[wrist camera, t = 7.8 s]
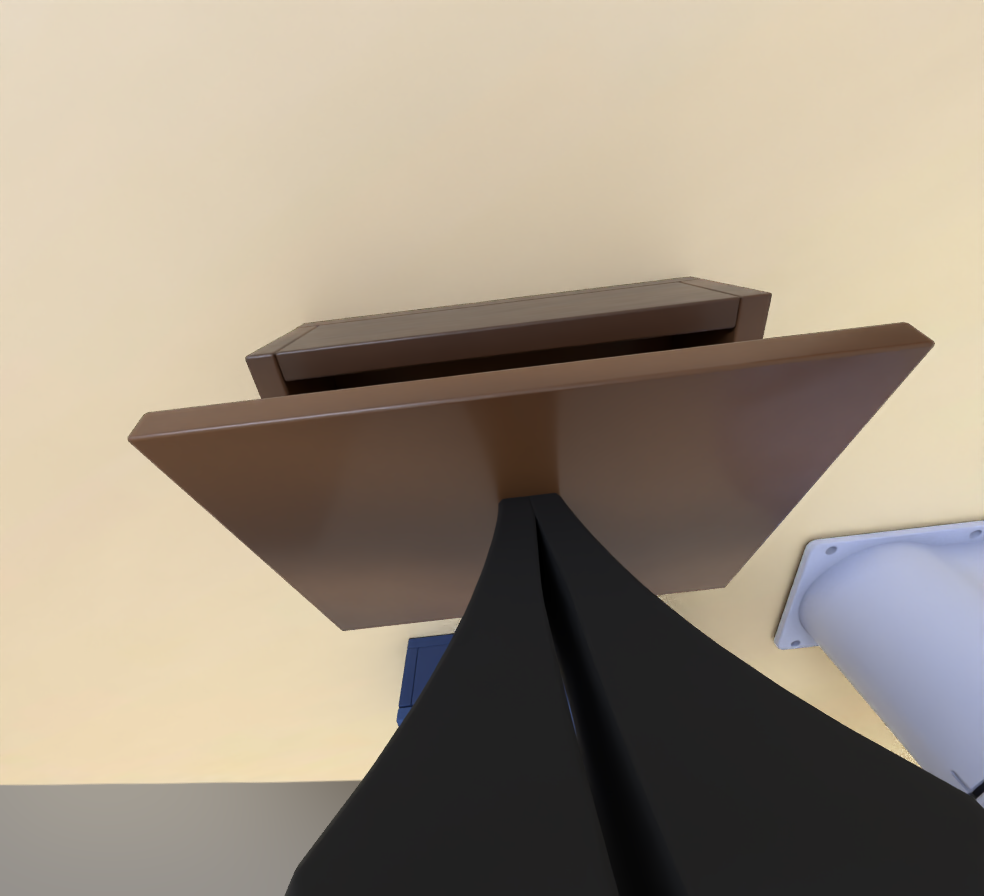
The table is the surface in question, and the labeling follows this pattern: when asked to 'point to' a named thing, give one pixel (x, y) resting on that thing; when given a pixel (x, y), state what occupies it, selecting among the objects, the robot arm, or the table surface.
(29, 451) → the table surface
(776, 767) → the robot arm
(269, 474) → the pen box lid
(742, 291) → the pen box
